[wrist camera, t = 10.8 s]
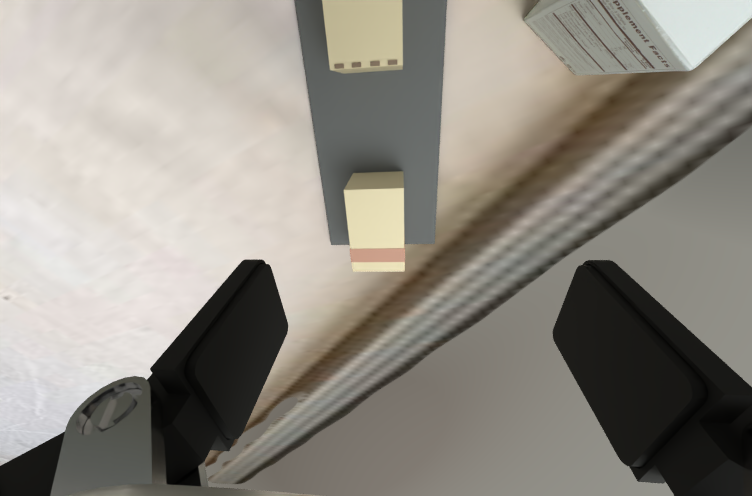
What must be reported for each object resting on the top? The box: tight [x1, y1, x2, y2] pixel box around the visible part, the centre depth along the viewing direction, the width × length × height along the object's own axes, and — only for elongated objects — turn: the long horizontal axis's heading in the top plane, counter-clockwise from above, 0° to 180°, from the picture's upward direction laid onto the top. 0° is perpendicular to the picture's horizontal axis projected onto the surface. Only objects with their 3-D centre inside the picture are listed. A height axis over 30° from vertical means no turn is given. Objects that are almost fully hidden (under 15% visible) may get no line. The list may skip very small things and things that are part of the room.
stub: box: [344, 171, 405, 272], centre depth 31 cm, size 9×6×6 cm, turn 3°
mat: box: [295, 0, 447, 245], centre depth 28 cm, size 33×13×1 cm, turn 3°
